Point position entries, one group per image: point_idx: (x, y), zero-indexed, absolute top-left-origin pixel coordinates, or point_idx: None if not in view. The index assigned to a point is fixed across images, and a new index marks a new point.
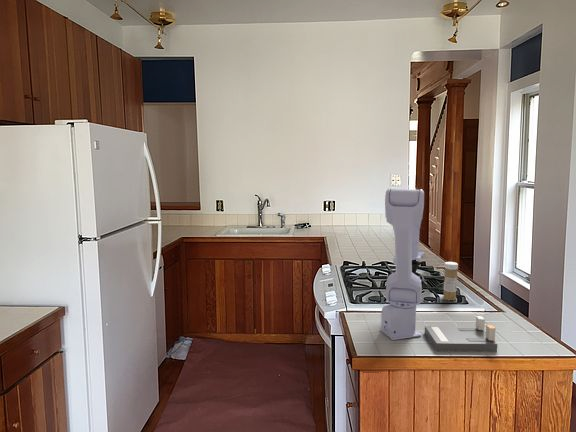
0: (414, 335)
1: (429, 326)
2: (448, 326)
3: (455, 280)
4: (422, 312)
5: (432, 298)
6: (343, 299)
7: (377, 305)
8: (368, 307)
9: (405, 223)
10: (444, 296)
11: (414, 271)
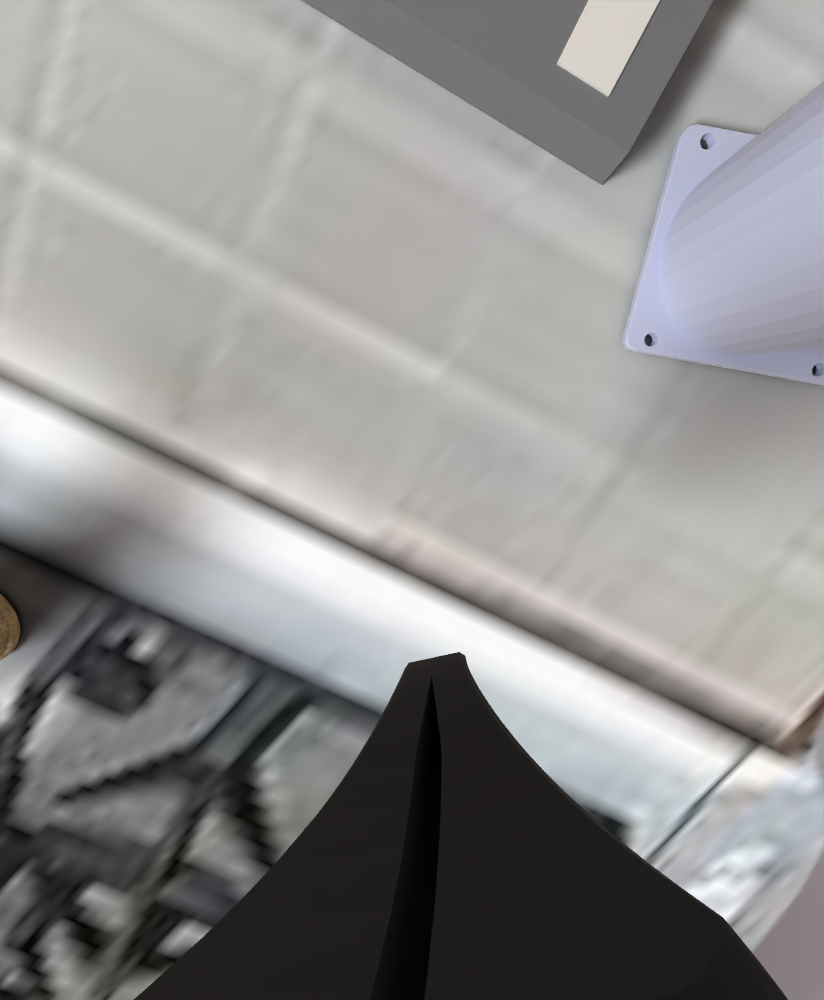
0: (747, 137)
1: (606, 117)
2: (459, 30)
3: None
4: (330, 509)
5: (90, 676)
6: None
7: (513, 734)
8: (590, 732)
9: None
10: (2, 640)
11: (387, 797)
